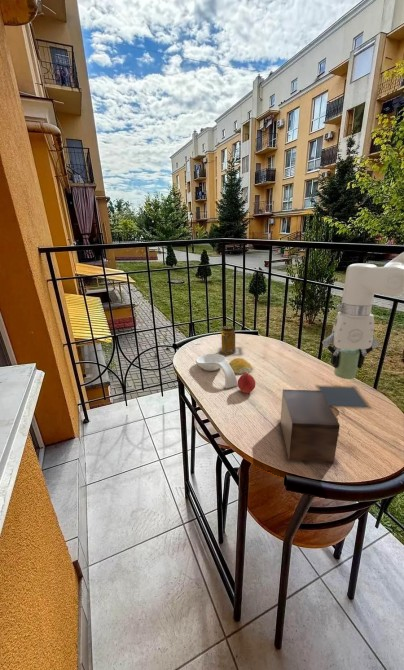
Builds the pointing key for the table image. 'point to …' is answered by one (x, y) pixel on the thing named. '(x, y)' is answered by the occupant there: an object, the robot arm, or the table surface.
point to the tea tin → (347, 363)
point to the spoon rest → (216, 362)
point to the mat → (342, 397)
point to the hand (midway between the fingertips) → (346, 365)
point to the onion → (246, 383)
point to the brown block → (308, 426)
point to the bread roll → (240, 365)
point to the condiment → (228, 340)
